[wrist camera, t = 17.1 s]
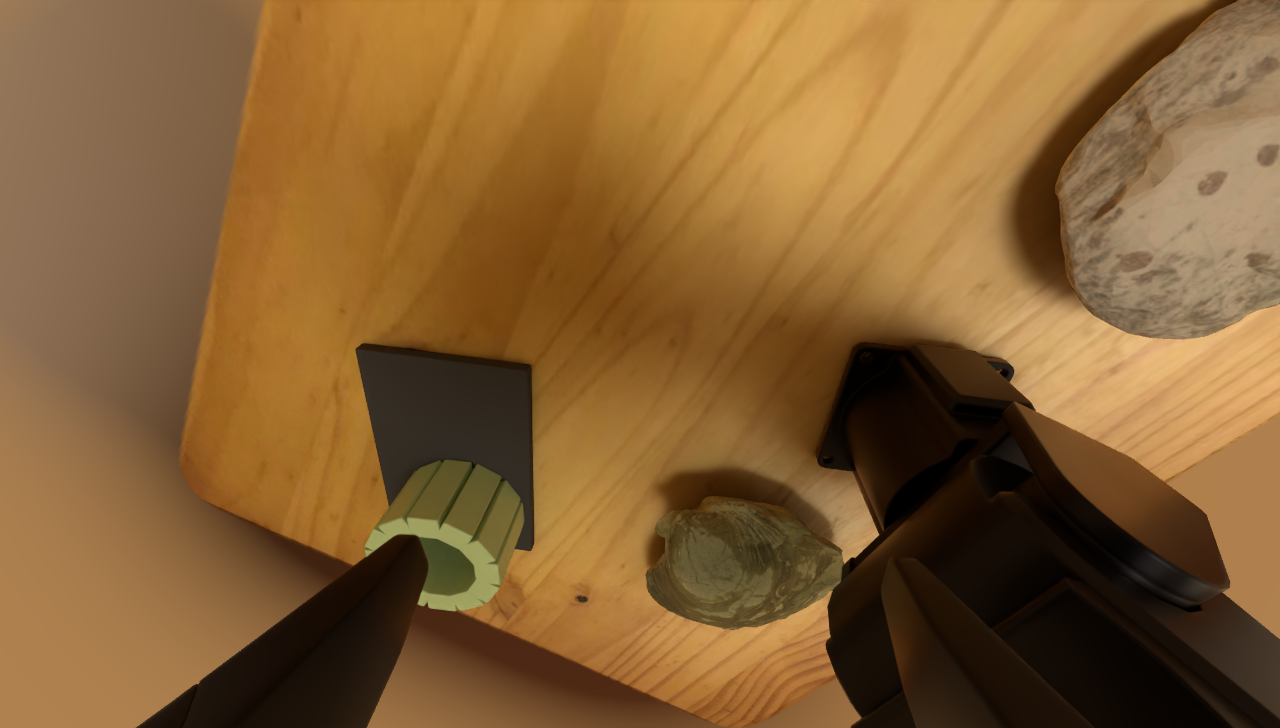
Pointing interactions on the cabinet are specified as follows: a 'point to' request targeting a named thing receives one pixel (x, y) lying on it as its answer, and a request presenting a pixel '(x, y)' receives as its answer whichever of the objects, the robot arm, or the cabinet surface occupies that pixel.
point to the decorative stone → (1183, 186)
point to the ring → (456, 530)
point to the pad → (450, 417)
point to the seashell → (740, 564)
